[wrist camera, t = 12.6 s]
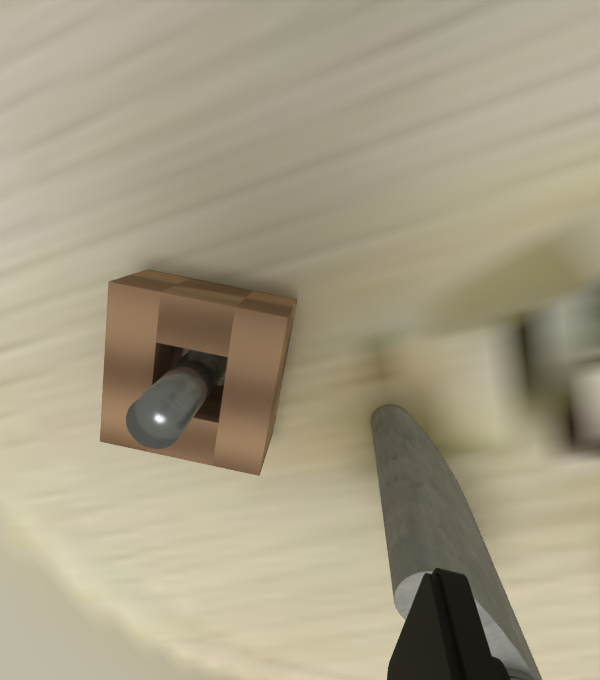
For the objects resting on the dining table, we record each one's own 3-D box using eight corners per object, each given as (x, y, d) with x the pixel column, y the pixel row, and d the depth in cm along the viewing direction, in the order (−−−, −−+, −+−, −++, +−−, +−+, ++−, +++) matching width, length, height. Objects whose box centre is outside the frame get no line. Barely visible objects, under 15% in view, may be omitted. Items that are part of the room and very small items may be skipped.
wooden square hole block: (147, 269, 35) (108, 281, 29) (297, 299, 34) (287, 317, 29) (136, 406, 38) (99, 441, 33) (271, 435, 38) (259, 475, 32)
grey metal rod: (196, 333, 36) (127, 391, 25) (234, 341, 36) (184, 403, 24) (191, 370, 37) (123, 442, 26) (229, 378, 37) (178, 454, 25)
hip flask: (363, 415, 37) (386, 638, 18) (408, 393, 36) (482, 602, 17) (451, 557, 40) (551, 878, 21) (494, 540, 39) (640, 859, 20)
